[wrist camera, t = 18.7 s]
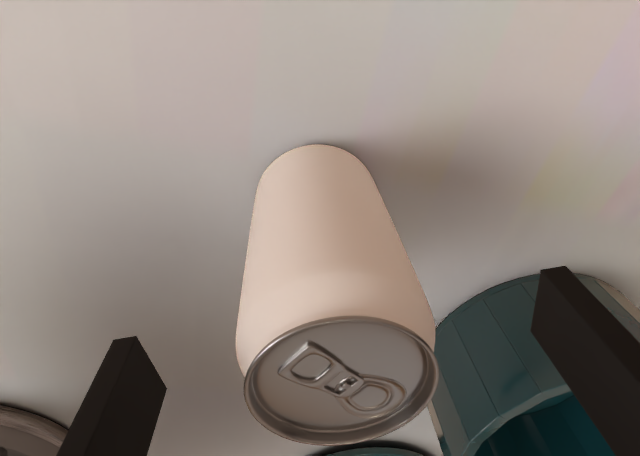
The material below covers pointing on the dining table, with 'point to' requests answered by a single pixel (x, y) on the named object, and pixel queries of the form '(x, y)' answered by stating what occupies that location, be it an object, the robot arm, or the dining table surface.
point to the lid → (376, 452)
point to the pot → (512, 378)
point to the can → (330, 306)
